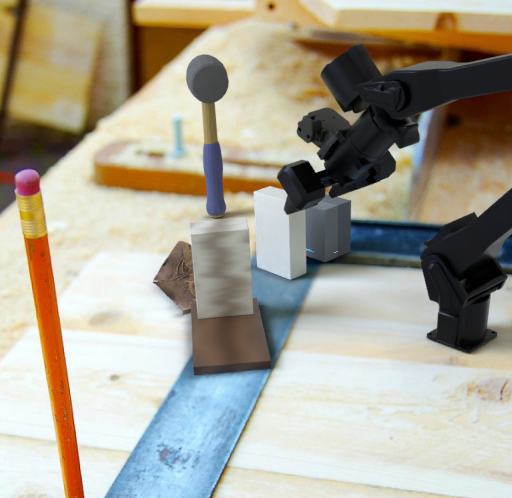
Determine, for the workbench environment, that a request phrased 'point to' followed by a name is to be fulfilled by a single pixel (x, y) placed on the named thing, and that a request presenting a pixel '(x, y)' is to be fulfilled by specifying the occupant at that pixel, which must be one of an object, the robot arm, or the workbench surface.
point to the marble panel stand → (225, 300)
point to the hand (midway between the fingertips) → (308, 203)
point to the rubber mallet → (210, 124)
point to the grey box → (328, 228)
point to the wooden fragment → (178, 277)
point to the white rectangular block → (279, 234)
